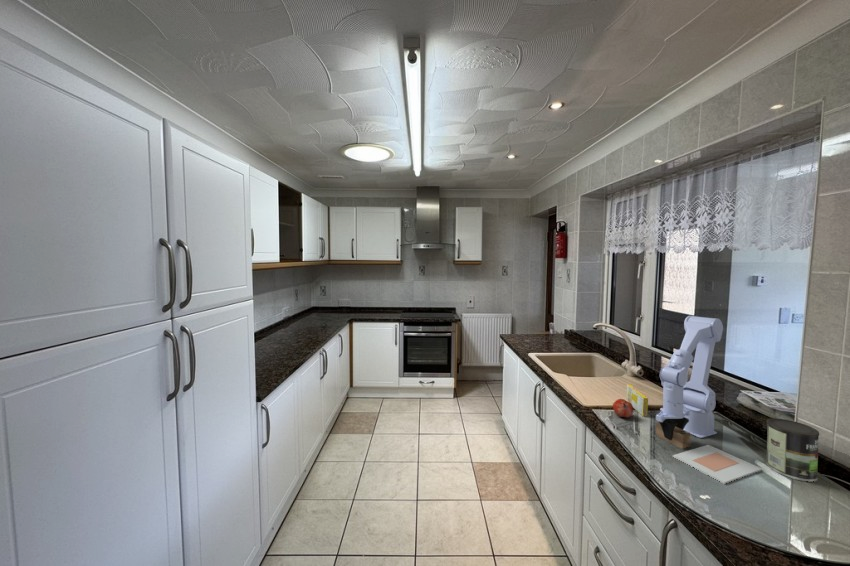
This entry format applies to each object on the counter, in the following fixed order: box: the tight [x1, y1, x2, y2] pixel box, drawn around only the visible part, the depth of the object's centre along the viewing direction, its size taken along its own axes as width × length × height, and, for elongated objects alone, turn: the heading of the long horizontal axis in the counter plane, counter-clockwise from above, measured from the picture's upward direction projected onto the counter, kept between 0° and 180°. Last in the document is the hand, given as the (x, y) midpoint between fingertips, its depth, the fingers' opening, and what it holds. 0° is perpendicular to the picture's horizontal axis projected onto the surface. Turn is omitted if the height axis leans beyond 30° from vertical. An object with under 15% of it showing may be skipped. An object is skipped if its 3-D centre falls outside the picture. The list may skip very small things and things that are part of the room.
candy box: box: [625, 383, 649, 418], centre depth 139 cm, size 16×2×8 cm, turn 168°
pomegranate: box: [612, 398, 634, 419], centre depth 132 cm, size 7×7×10 cm
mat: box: [672, 444, 763, 485], centre depth 99 cm, size 18×14×1 cm
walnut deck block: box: [655, 422, 691, 450], centre depth 112 cm, size 4×9×5 cm, turn 18°
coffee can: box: [766, 417, 820, 483], centre depth 95 cm, size 10×10×14 cm
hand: (672, 437), depth 112 cm, fingers closed on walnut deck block, 4 cm apart
